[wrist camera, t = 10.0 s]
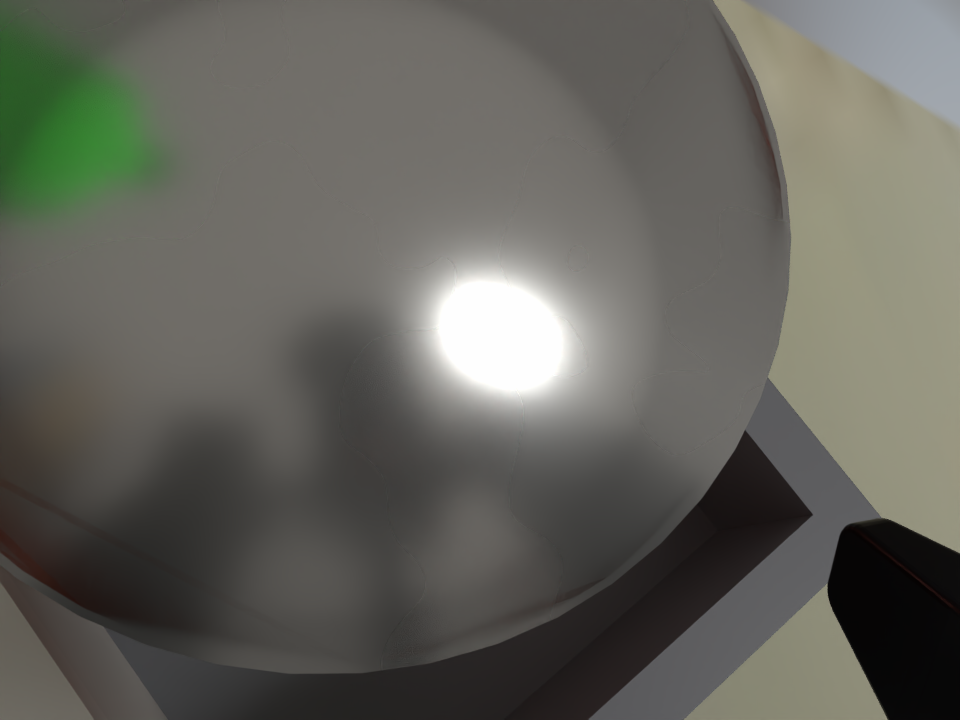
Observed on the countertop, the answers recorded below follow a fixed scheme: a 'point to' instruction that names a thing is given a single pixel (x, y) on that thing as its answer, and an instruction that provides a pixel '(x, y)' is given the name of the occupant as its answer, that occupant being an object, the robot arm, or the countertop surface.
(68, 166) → the tin can
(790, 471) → the tote
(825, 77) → the countertop surface
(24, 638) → the egg carton
